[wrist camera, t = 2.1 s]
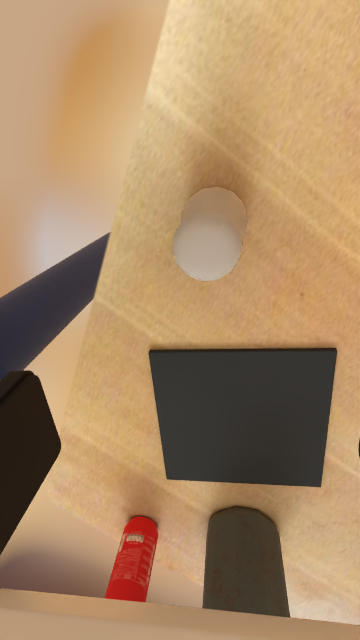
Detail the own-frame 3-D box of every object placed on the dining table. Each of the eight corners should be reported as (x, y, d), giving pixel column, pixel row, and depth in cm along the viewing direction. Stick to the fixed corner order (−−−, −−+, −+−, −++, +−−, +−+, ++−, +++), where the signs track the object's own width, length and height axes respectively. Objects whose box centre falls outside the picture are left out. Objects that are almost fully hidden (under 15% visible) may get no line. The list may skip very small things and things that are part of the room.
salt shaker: (253, 237, 32) (267, 281, 20) (196, 257, 33) (179, 309, 22) (234, 174, 30) (238, 183, 18) (174, 198, 31) (142, 221, 20)
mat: (167, 475, 47) (166, 479, 46) (149, 349, 39) (148, 352, 38) (319, 483, 44) (320, 487, 43) (335, 347, 36) (337, 350, 35)
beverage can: (162, 520, 51) (144, 616, 40) (155, 540, 53) (137, 636, 43) (129, 510, 51) (102, 604, 40) (123, 531, 54) (97, 624, 43)
